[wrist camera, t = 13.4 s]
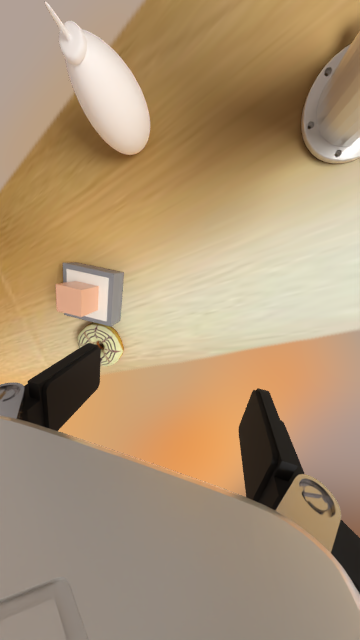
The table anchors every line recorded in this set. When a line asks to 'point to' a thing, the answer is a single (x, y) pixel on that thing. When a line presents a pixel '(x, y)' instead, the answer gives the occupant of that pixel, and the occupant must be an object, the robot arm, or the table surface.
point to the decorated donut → (107, 337)
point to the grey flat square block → (108, 290)
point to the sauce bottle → (104, 88)
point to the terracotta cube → (77, 298)
